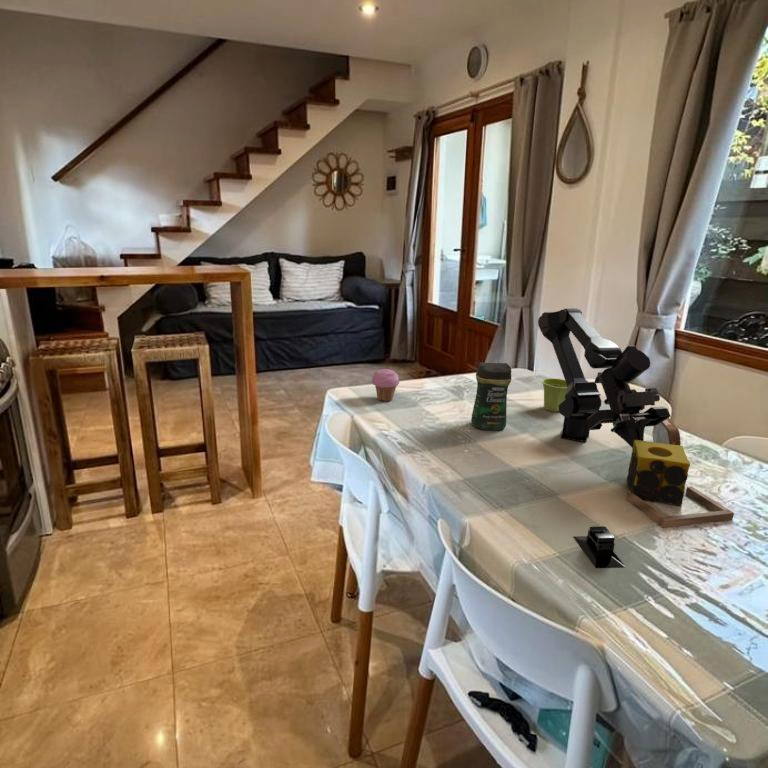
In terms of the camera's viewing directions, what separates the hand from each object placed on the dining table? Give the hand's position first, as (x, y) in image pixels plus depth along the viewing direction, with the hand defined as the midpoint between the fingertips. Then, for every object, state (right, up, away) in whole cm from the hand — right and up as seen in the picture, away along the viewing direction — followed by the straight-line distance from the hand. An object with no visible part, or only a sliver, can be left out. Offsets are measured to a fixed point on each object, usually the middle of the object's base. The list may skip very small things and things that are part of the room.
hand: (640, 452), depth 120 cm
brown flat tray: (+3, -10, -10) cm, 15 cm away
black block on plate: (-20, -15, -25) cm, 35 cm away
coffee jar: (-28, +3, +31) cm, 42 cm away
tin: (+14, -2, +18) cm, 23 cm away
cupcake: (-58, +10, +50) cm, 77 cm away
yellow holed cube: (+1, -8, -3) cm, 9 cm away
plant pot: (-5, +7, +47) cm, 48 cm away
